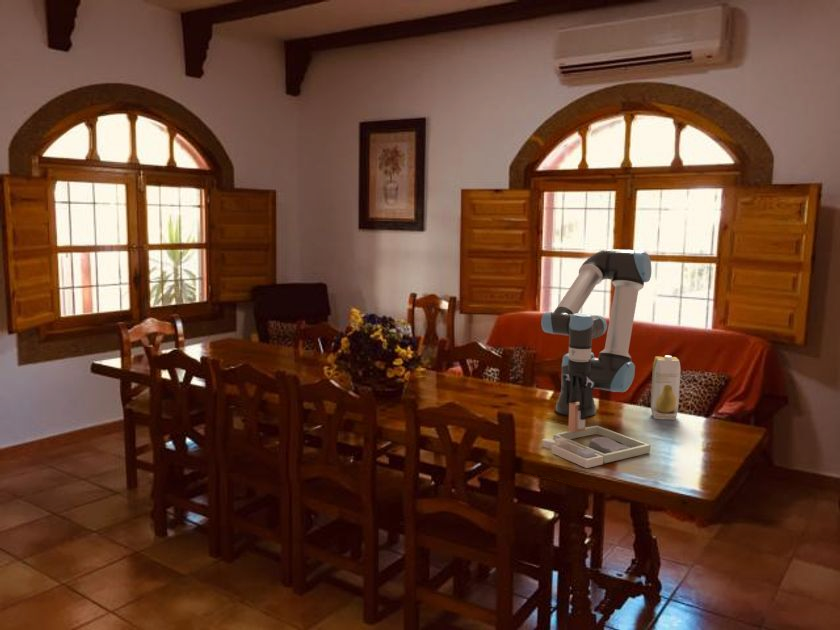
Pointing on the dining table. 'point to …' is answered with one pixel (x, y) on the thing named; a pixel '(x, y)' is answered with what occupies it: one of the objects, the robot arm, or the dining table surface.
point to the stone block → (606, 445)
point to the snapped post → (548, 443)
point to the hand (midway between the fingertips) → (576, 426)
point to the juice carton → (665, 387)
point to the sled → (563, 446)
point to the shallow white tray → (573, 432)
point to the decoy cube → (586, 453)
